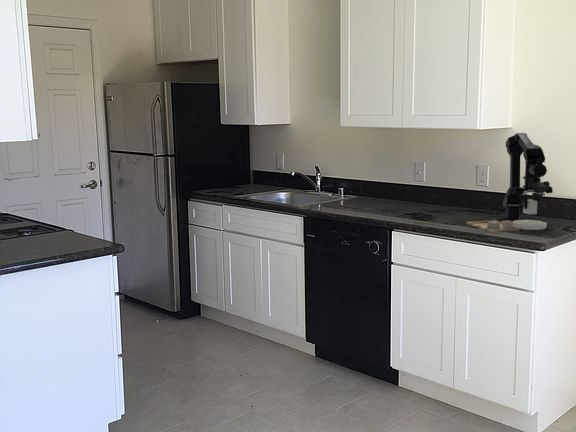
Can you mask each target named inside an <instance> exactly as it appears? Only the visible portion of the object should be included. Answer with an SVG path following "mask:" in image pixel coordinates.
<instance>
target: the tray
mask: <svg viewBox="0 0 576 432" xmlns="http://www.w3.org/2000/svg"><path fill="white" fill-rule="evenodd" d="M491 221H494V222H500V229H488V228H487V222H491ZM466 225H468V226H471V227H475V228H476V229H480V230H481V231H482V230H483V231H486V232H489V233H495V232H496V233H498V232H500V233H501V232H515V231H516V232H518V231H521V229H520V228H518V227H515V226H513V228H506V229H502V221H498V220H476V221H466Z"/></svg>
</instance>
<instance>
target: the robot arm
mask: <svg viewBox="0 0 576 432" xmlns="http://www.w3.org/2000/svg"><path fill="white" fill-rule="evenodd" d="M505 148H506V152H507V154H508V156H509V161H510V162H509V187H508V189H507V190H506V192H505V193H506V194H505V196H504V199H503V201H502V207H504V208H506V211H505V212H506V213H505V214H506V216H505V218H506V219H507V220H508V219H509V220H513V221H515V220H523V219H522V218H520V208H523V206H524V209H527V200H528V198H529V196H530V194H528V193H532V194H531V195H532V196H531V199H532V200H536V201H537V205H538V204H539V201H540V200H541V198H542V197H543V196H545V195H546V194H553V192H554V191H553V189H554V188H553V187H552V186H550V184H551V183H550V181H548V180H547V181H546V180H545V181H541V178H542V177H543V178H544V176H546V174H547V173H548V169H547V167H546V165H544V163H545V161H546V156H545V154H544V151H543V149H542V147H541V146H540V145H537V144H534V142H533V141H532V140H531V139H530V138H529V137H528V133H526V132H517V133H515V134H513V135H512V136H509V137H508V138H507V139H506V141H505ZM522 155H523V158H524V161H525V162H524V164H525V168H524V169H525V170H524V171H525V172H524V176H523V177H522V179H523V180H524V185H522V187H521V156H522Z"/></svg>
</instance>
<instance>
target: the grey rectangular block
mask: <svg viewBox="0 0 576 432" xmlns="http://www.w3.org/2000/svg"><path fill="white" fill-rule="evenodd" d="M537 210H538V204H537V201H536V200H532V198H530V199H527V209H524V206H523V207H522V213H523V214H527V215H537V213H538V211H537Z"/></svg>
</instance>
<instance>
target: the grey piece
mask: <svg viewBox="0 0 576 432" xmlns="http://www.w3.org/2000/svg"><path fill="white" fill-rule="evenodd" d="M490 221H491V222H487V228H488V229H500V222H501V221H499V222H494V221H492V220H490Z"/></svg>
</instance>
